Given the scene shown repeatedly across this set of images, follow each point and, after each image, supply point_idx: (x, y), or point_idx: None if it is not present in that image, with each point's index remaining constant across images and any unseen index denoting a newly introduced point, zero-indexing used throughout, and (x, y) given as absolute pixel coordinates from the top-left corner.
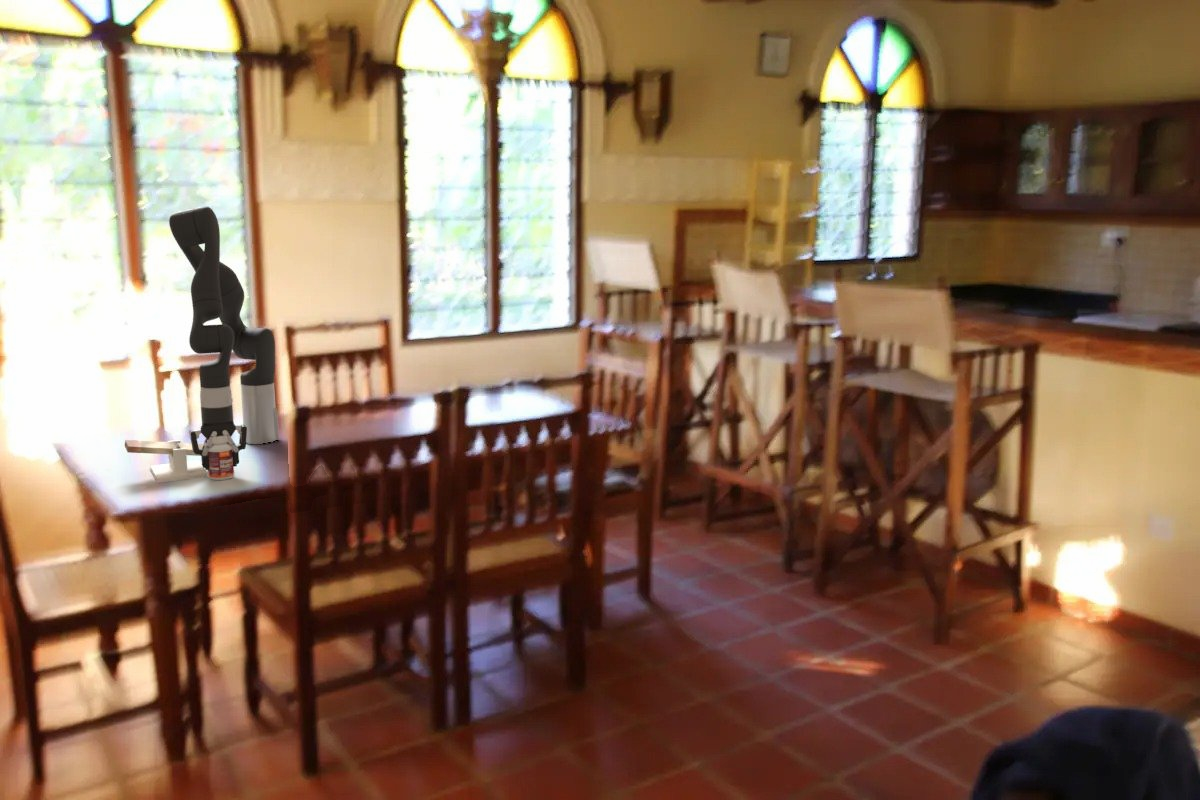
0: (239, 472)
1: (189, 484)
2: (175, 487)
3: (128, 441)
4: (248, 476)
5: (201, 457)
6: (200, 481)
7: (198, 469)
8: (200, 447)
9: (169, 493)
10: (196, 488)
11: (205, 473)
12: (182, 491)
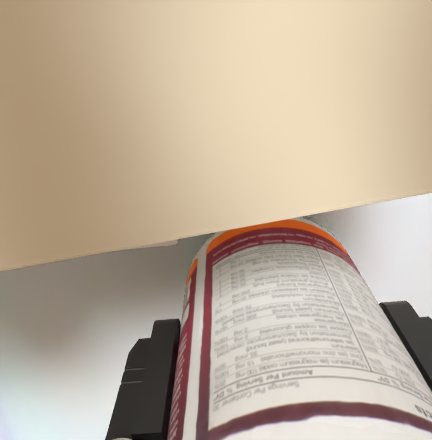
0: (410, 199)
1: (80, 345)
2: (14, 368)
3: None
4: (424, 306)
5: (112, 424)
6: (138, 313)
7: None
8: (9, 12)
9: (11, 432)
10: None
11: (163, 244)
12: (65, 425)
